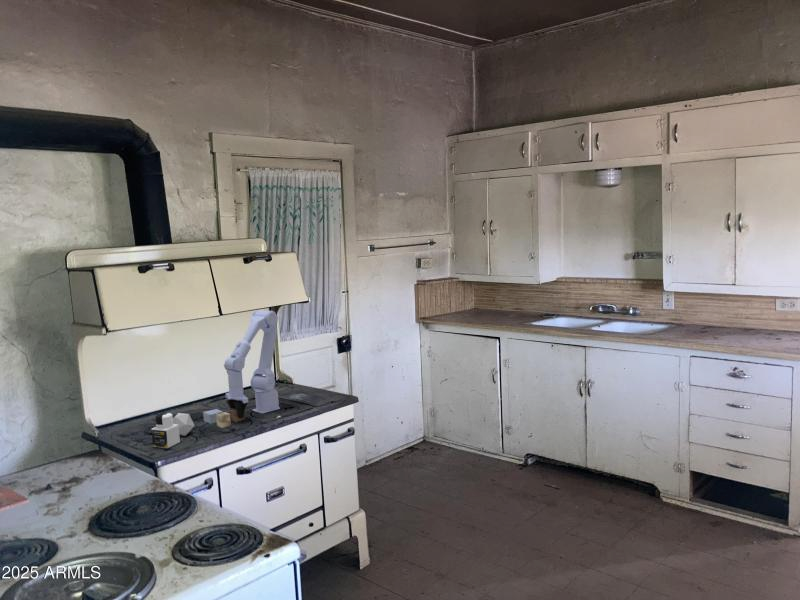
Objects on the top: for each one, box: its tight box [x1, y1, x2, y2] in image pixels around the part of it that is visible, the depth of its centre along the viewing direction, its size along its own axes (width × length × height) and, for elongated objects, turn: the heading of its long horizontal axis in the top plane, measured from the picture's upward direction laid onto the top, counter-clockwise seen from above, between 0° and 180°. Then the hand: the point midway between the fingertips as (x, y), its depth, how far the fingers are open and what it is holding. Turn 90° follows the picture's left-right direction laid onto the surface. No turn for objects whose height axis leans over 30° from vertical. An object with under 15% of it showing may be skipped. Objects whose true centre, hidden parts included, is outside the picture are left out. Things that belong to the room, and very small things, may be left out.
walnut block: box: [230, 408, 246, 423], centre depth 274 cm, size 4×4×5 cm
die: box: [173, 412, 195, 437], centre depth 258 cm, size 8×9×10 cm
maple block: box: [216, 411, 232, 429], centre depth 267 cm, size 4×4×5 cm
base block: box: [202, 408, 224, 424], centre depth 275 cm, size 6×6×4 cm
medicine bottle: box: [151, 412, 181, 449], centre depth 246 cm, size 7×7×12 cm
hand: (238, 416), depth 274 cm, fingers closed on walnut block, 4 cm apart
